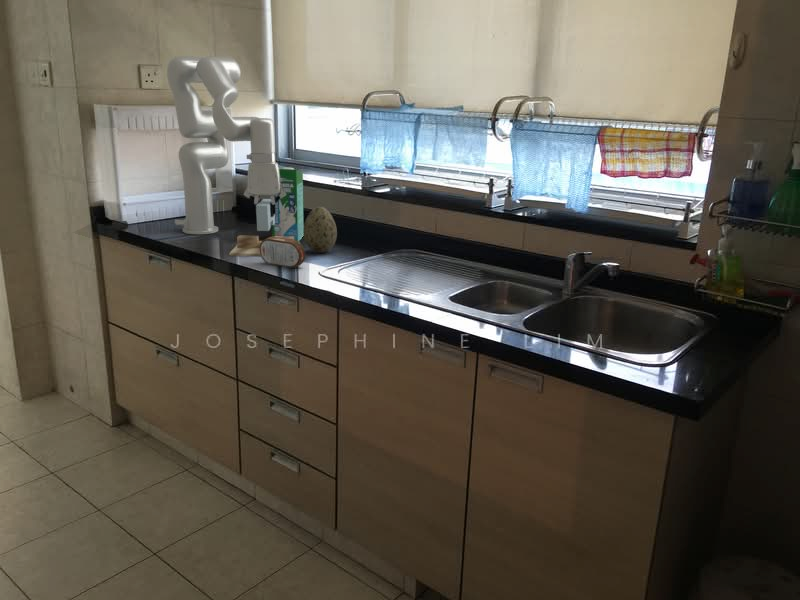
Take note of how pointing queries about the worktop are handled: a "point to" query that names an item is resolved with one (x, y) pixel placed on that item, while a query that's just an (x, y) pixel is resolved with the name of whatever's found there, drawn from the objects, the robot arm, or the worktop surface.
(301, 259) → the tin
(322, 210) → the decorative egg
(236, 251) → the straw hat
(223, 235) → the worktop surface
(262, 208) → the pale blue notched block
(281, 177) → the milk carton
